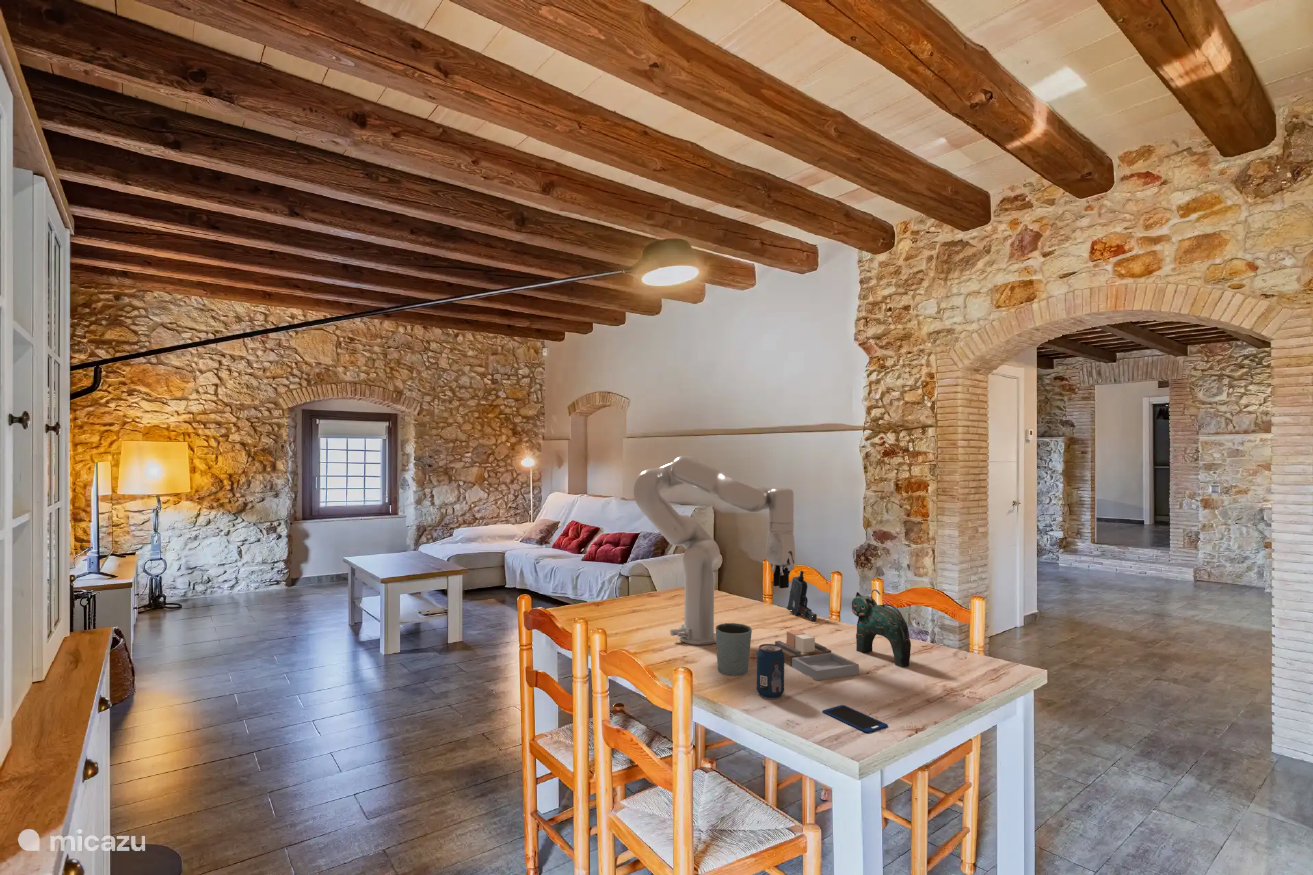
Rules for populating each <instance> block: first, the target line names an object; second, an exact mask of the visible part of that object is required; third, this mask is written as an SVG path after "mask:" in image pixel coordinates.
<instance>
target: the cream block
mask: <svg viewBox="0 0 1313 875" xmlns="http://www.w3.org/2000/svg"><path fill="white" fill-rule="evenodd" d="M815 643H816V637H814V636H812V635H811V634H808V633H806V634H802V635H795V649H797V650H799V651H801V652H803V653H806V652H813V651H815Z"/></svg>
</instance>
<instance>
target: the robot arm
mask: <svg viewBox="0 0 1313 875" xmlns="http://www.w3.org/2000/svg"><path fill="white" fill-rule="evenodd" d="M682 485H688V486H690V487H693V488H695V489H697V490H700V491H703V492H704V493H707V494H709V495H711V496H713V497H715V498H716V499H719V500H721V501H724V502H725V503H727V504H729V505H732V506H734V507H737V508H739V509H742V510H744V511H746V512H749V513H758V512H761V511H762V510H769V512H768V532H767V535H766V536H767V538H766V548H765V552H766V553H765V560H766V561H767V562H768V564H769V565H770V566H771V568H772V569H771V570H772V573H773V574H772V576H773V577H772V578H773V581H772V582H773V586H774V587H778V588H779V589H787V588H789V586H790V585H789V584H790V581H789V580H790V575H791V572H792V571H793V570H794V569H795V562H796V543H795V536H794V510H795V509H794V502H795V501H794V500H795V497H794V490H793V489H791V488H788V487H774V488H773V487H765V486H754V487H752V486H749V485H748V484H745V483H743V482H740V481H738V480H736V479H733V478H732V477H730V476H729V475H728V474H727V473H726V472H724V470H722V469H719V468H717V467H714V466H712V465H709V464H707V463H704V462H702V461H700V460H699V458H697V457H695V456H692V455H679V456H677V457H676V458H675V459H674V460H673V461H672V462H670V463H667V464H665V465H662V466H660V467H657V468H655V467H654V468H648V469H645V470H643V471H641V472H640V473H639V474H638V475H637V477H636V478H635V481H634V485H633V496H634V497H633V498H634V500H635V503H636V505H637V507H638V508H639V510H641V512H642V513H643V515H645V517H646V518H647V519H648V520H649V521H650V522H651V523H652V524H653V526H654V527H655V528H656V529H657V530H658V531H659V533H660V534H661V535H662V536H663V538H664V539H665V540H666V541H667V542H668V543H669V544H670V545H671V546H674V547H675V546H676V547H680V546H682V547H683V548H684V549H685V551H684V553H683V556H682V564H683V565H682V567H683V576H684V622H683V623H684V624H681V627H679V628H677V629H676V628H674V629H673V628H672V629H670V630H669V632H670V636H677V637H678V638H679V640H680V641H681V642H682V643H685V644H688V645H695V646H707V645H713V644H715V643H716V632H715V579H714V569H713V567H714V565H715V564H716V563H717V562H718V560H719V559H720V555H721V554H720V553H721V551H720V548H719V545H718V544H717V542H716V541H715V539H714V538H713V537H712V536H711V535H710V534H709V533H708V532H707V531H706V530H705V528H704V527H702V525H701V524H700V523H699V522H698V521H697V520H696V519H695V518H693V516H690V515H688V514H679V513H678V512H677V510H675V508H674V507H673V506H672V505H671V504H670V502H669V501H667V500H666V499H665V498H664V497H662V495H661V493H665V492H667V491H670V490H672V489H675V488H677V487H681V486H682Z"/></svg>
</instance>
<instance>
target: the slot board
mask: <svg viewBox="0 0 1313 875" xmlns="http://www.w3.org/2000/svg"><path fill="white" fill-rule="evenodd" d="M774 644H775V645H779V646H781V647H782V651H783V653H784V665H785V664H786V665H787V666H789V667H791V668H793V667H792V658H796V657H803V656H810V655H817V654H824V653H832V650H831V649H830V648H829V649H828V647H826V646H823V645H822V644H820V643H817V642H815V651H813V652H806V653H803V652H801V651H799V650H797V649H795V648H793V647H791V646H789V645H787V642H785V643H784V642H783V641H782V640H776V641H774Z"/></svg>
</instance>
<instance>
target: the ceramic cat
mask: <svg viewBox="0 0 1313 875" xmlns="http://www.w3.org/2000/svg"><path fill="white" fill-rule="evenodd" d="M874 591H875V592H876V593H877V594H878V595H879V596H881V593H880V591H879V590H878V589H872V590H871V594H870V595H861V593H859V592H858V591H856V594H855V597H854V598H853V599H852V601H851V609H852V610H851V611H852V614H854V615H855V616H856V617H858V619H857V624H856V634H855V639H856V646H855V647H856V652H858V653H859V652H860V653H862V654H868V653H872V652H873V644H874V643H873V642H874V639H875V637H876V636H881V637H884V638H885V639H886V640H888V642H889V643H890V647H891V649H892V654H893V659H894V665H895V666H896V667H899V668H905V667H910V660H911V651H912V649H911V648H912V642H911V640H910V639H911V638H910V632H909V626H908V623H907V622H906V620H905V618H904V617H903V614H902V613H901V611H900V610H899V609H898V608H897V607H896V606H894V605H892V604H887V603H884V604H878V603H877V601H876V599H874V598H873V593H874Z"/></svg>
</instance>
